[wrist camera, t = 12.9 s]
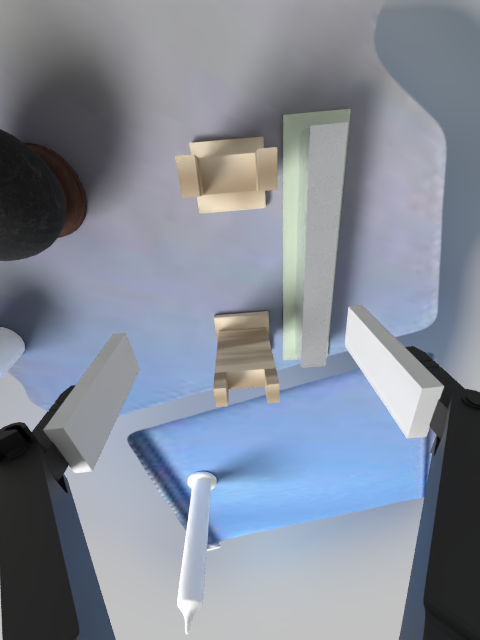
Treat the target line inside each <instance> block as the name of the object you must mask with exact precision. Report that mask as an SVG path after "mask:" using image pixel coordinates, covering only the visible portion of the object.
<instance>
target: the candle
mask: <svg viewBox="0 0 480 640" xmlns="http://www.w3.org/2000/svg"><path fill="white" fill-rule="evenodd" d="M216 484H217V479H216V477H215V476H214V475H213V474H211V473H209V472H203V471H201V472H195V473H193V474H191V475H190V476H189V478H188V485H189V486H190V487H191V488H192V493H191V501H190V509H189V516H188V524H187V531H186V540H185V547H184V554H183V562H182V570H181V577H180V584H179V592H178V600H177V606H178V608H179V609H180V610H181V611H182V613H183V614H184V618H185V632H186V634H188V633H189V629H190V625H191V621H192V618H193V616H194V614H195V613H196V612H197V611H198V610H199V609H200V608H201V607H202V605H203V595H204V581H205V566H206V553H207V539H208V524H209V510H210V496H211V489H213V488H214V487H215V486H216Z"/></svg>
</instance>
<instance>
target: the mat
mask: <svg viewBox="0 0 480 640" xmlns="http://www.w3.org/2000/svg"><path fill="white" fill-rule="evenodd" d="M350 112H351V109H341V110H330V111H319V112H308V113H297V114H286V115H283V360H292V359H298V358H297V356H296V353H295V350H294V349H295V305H296V262H297V219H298V175H299V134H300V133H301V132H302V131H304V130H305V129H307V128H308V127H309V126H313V125H324V124H335V123H346V122H348V130H347V141H346V152H345V163H344V173H343V184H342V195H341V206H342V196H343V185H344V175H345V164H346V154H347V143H348V133H349V122H350ZM341 206H340V216H339V227H338V238H339V228H340V217H341ZM338 238H337V249H338ZM337 249H336V259H337ZM336 259H335V270H336ZM335 270H334V280H335ZM333 291H334V281H333ZM332 301H333V292H332ZM331 312H332V303H331ZM330 322H331V313H330ZM329 333H330V324H329ZM328 343H329V335H328ZM327 354H328V346H327ZM326 357H327V356H326Z"/></svg>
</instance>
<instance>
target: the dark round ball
mask: <svg viewBox="0 0 480 640" xmlns="http://www.w3.org/2000/svg"><path fill="white" fill-rule="evenodd" d="M86 204H87V202H86V196H85V192H84V189H83V186H82V183H81V182H80V180H79V178H78V176H77V174H76V173H75V172H74V170H73V169H72V167H71V166H70V165H69V164H68V163H67V162H66V161H65V160H64V159H63V158H62V157H60V156H59V155H58V154H56V153H55V152H53V151H51V150H49V149H47V148H46V147H43V146H39V145H36V144H32V143H23V142H22V141H20V140H19V139H17V138H16V137H14V136H13V135H11V134H9V133H7V132H5V131H3V130H1V129H0V261H12V260H20V259H24V258H28V257H31V256H34V255H37V254H39V253H40V252H42V251H44V250H45V249H47V248H48V247H50V246H51V245H52V244H53V243H54V241H55V240H56V239H57V238H59V237H63V236H66V235H69V234H71V233H73V232H74V231H76V230H77V229H78V228H79V227H80V226H81V224H82V222H83V220H84V218H85V214H86Z"/></svg>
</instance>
